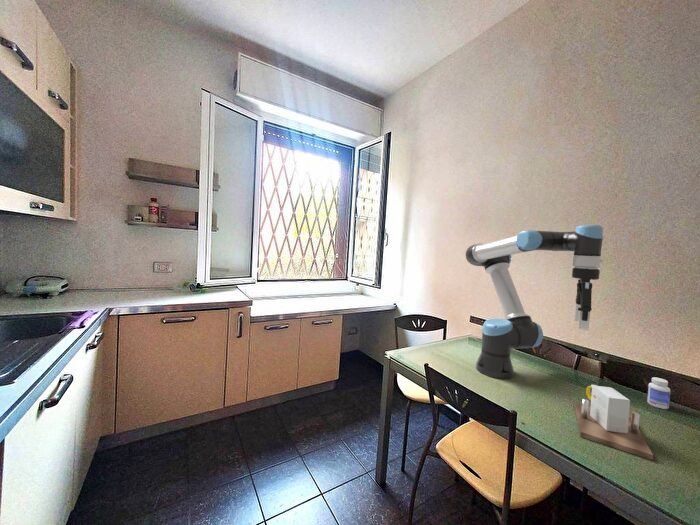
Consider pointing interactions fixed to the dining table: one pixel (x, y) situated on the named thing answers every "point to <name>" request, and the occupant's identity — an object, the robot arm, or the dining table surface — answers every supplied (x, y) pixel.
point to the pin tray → (621, 441)
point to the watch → (589, 391)
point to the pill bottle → (658, 393)
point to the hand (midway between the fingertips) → (581, 325)
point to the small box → (610, 409)
